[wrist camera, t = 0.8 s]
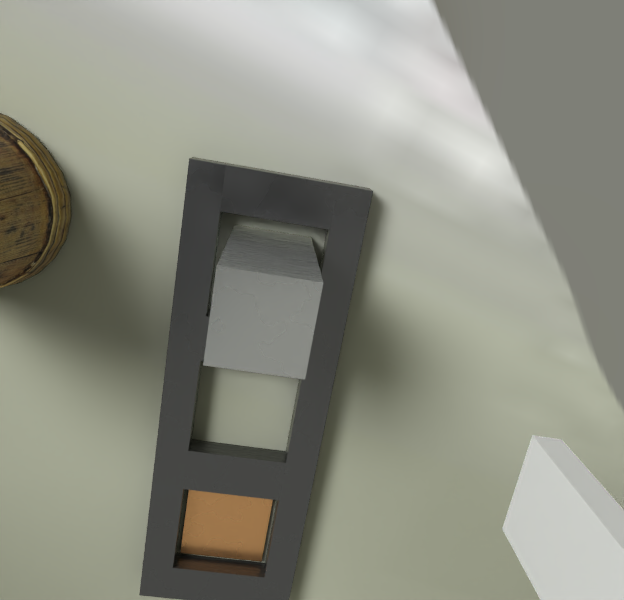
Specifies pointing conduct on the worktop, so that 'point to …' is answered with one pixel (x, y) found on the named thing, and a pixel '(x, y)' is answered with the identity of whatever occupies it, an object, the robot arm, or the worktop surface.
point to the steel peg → (264, 303)
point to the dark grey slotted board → (184, 388)
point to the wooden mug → (29, 204)
